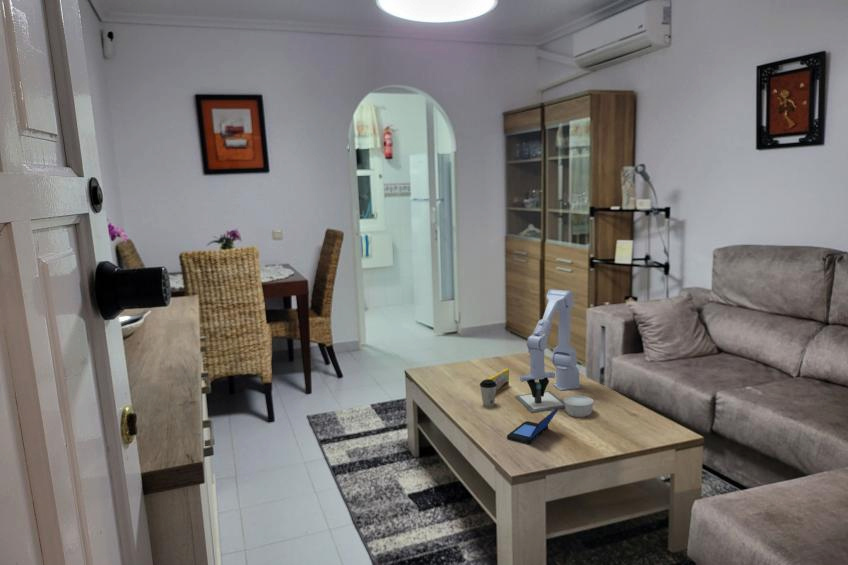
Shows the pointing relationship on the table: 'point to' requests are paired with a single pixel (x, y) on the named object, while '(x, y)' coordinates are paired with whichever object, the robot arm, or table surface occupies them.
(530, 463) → the table surface
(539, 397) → the marker
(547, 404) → the sketch board
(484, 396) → the coffee cup
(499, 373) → the candy box
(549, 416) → the handheld game console
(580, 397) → the ramekin
